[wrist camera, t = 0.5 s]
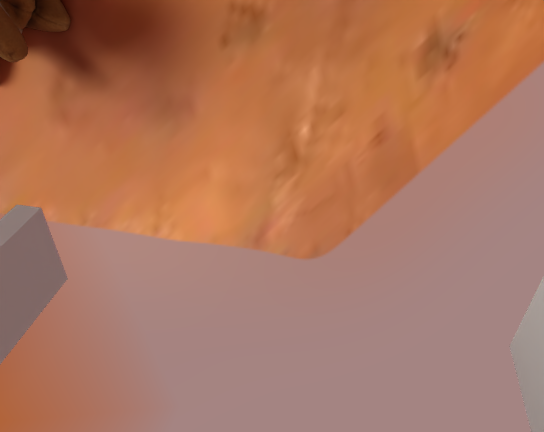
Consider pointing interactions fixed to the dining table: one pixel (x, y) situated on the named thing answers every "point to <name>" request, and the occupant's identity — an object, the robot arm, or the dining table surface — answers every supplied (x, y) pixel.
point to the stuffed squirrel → (28, 23)
